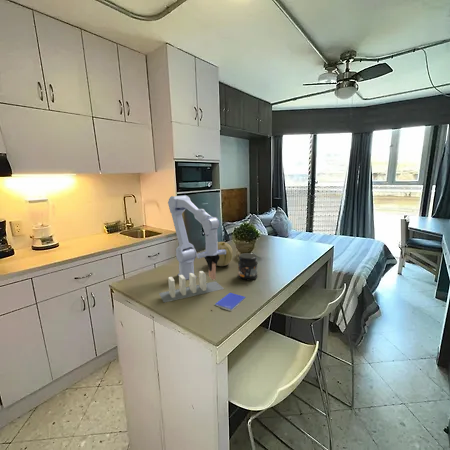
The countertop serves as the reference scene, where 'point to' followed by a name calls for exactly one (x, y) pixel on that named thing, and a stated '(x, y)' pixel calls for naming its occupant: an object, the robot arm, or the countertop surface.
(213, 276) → the salmon orange end domino
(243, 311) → the countertop surface
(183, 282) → the domino
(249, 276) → the supplement container
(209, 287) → the domino mat
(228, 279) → the countertop surface
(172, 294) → the domino
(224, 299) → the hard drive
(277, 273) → the countertop surface
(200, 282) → the domino
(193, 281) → the domino
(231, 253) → the beige rounded lump
